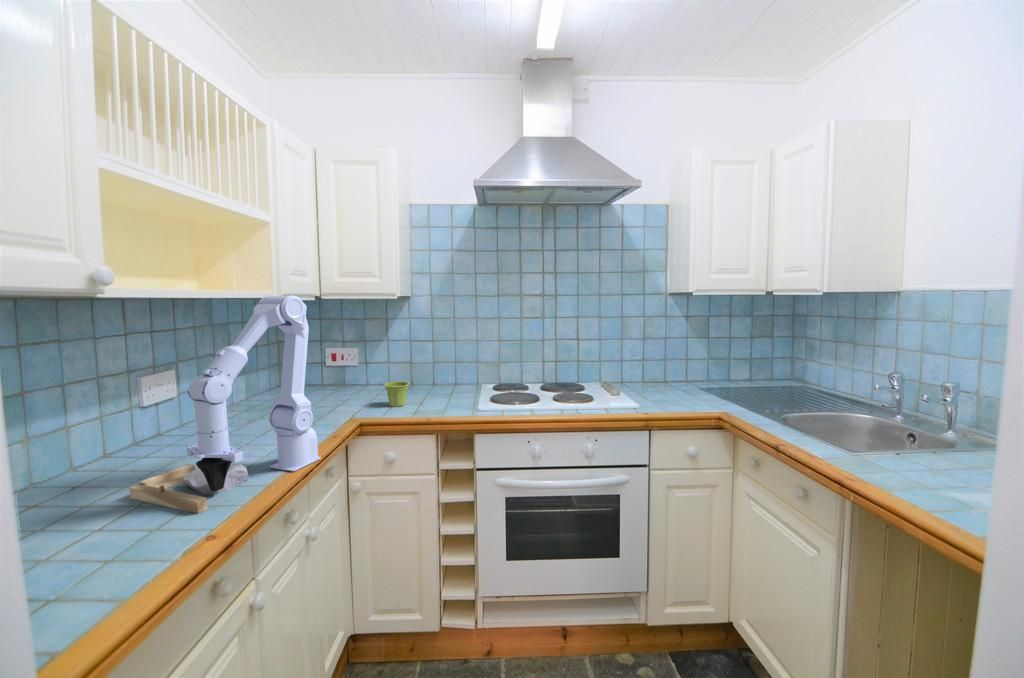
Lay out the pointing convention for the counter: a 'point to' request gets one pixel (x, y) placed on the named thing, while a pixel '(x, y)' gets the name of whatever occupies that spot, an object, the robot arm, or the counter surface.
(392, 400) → the plant pot
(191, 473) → the stone block
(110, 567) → the counter surface
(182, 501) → the fence
